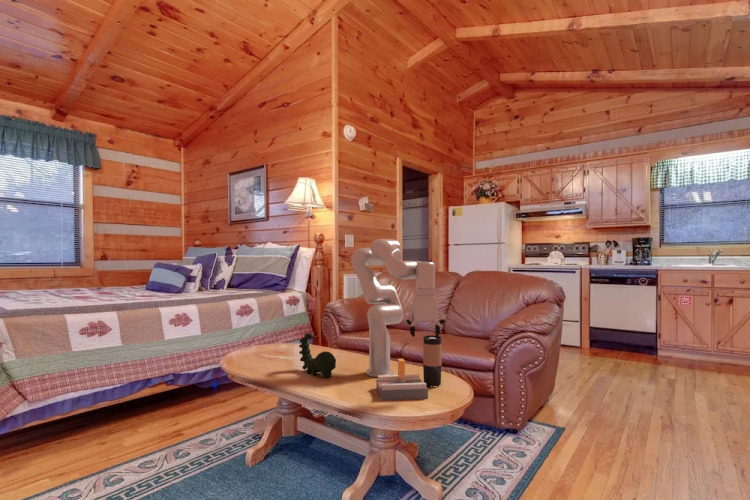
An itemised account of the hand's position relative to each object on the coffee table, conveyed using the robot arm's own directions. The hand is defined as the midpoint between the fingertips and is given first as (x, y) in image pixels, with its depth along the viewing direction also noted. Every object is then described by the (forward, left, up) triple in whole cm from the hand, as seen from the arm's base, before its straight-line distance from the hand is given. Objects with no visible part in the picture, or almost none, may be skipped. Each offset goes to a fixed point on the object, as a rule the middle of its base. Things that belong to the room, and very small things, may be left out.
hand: (425, 336), depth 159 cm
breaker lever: (-1, -9, -19) cm, 21 cm away
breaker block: (-1, -9, -22) cm, 24 cm away
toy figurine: (-30, -42, -23) cm, 57 cm away
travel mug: (-10, +6, -23) cm, 25 cm away
